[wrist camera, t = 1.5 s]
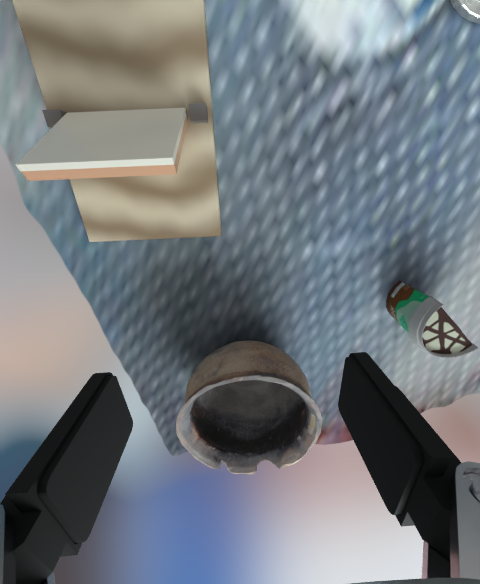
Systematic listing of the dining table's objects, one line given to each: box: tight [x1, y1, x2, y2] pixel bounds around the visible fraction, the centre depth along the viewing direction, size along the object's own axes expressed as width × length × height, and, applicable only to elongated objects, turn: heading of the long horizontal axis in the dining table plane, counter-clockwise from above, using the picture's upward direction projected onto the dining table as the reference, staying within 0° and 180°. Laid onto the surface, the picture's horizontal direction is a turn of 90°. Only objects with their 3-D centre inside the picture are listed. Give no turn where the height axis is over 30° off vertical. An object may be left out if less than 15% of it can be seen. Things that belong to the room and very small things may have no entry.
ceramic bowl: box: [176, 340, 322, 474], centre depth 42 cm, size 22×22×15 cm
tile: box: [16, 108, 188, 181], centre depth 25 cm, size 13×14×2 cm
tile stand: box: [12, 0, 221, 242], centre depth 28 cm, size 30×20×4 cm, turn 2°
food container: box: [386, 281, 478, 358], centre depth 39 cm, size 12×6×10 cm, turn 48°
